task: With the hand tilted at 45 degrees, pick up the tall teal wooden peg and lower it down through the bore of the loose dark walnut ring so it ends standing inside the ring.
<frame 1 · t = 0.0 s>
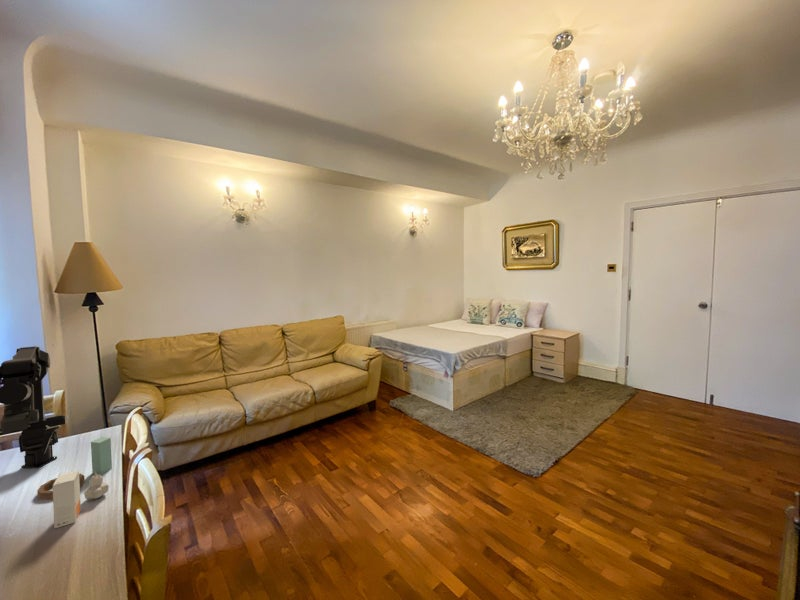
hand: (20, 459, 93), 15 cm above the table, tool pointing down, fingers open, 9 cm apart
walnut ring: (62, 488, 104), on the table
skincare box: (68, 519, 91), on the table
teal peg: (102, 470, 114), on the table
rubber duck: (97, 498, 100), on the table
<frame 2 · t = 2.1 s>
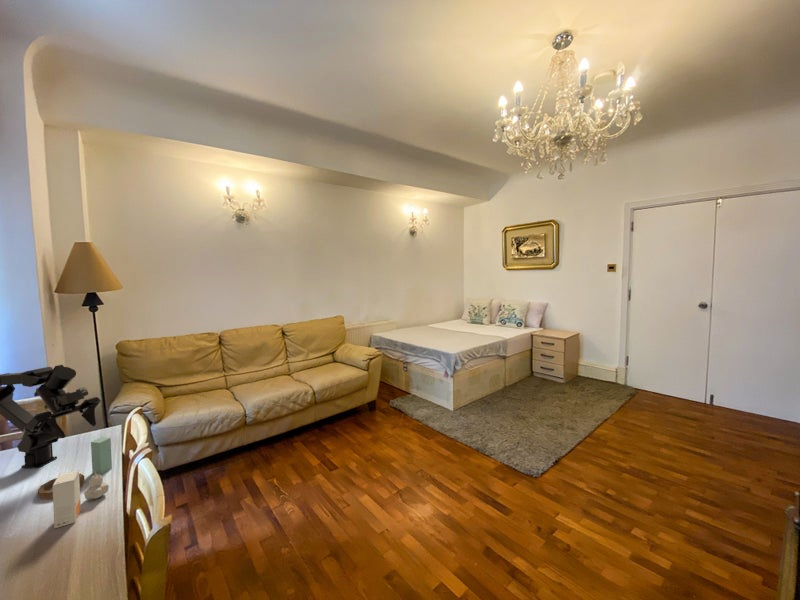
hand: (80, 431, 114), 14 cm above the table, tool tilted 45°, fingers open, 9 cm apart
nothing on the table moved.
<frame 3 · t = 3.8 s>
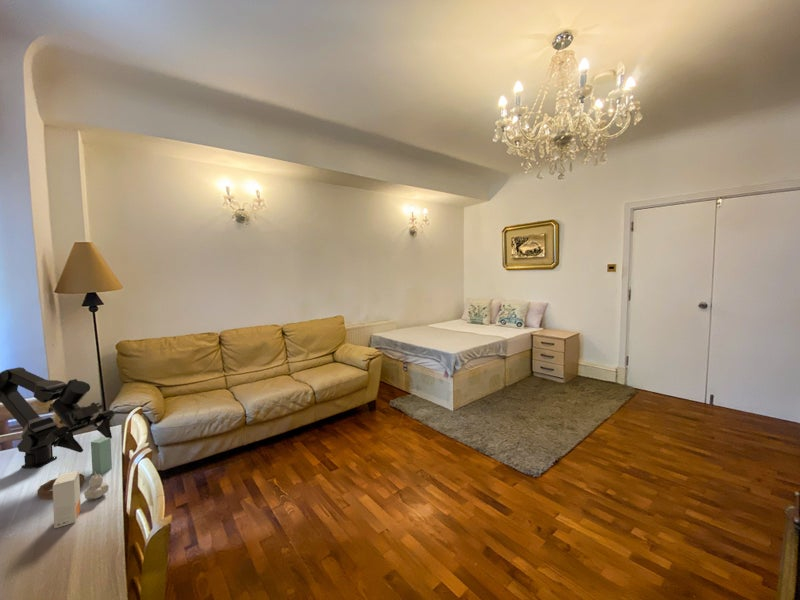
hand: (97, 444, 114), 9 cm above the table, tool tilted 45°, fingers open, 9 cm apart
nothing on the table moved.
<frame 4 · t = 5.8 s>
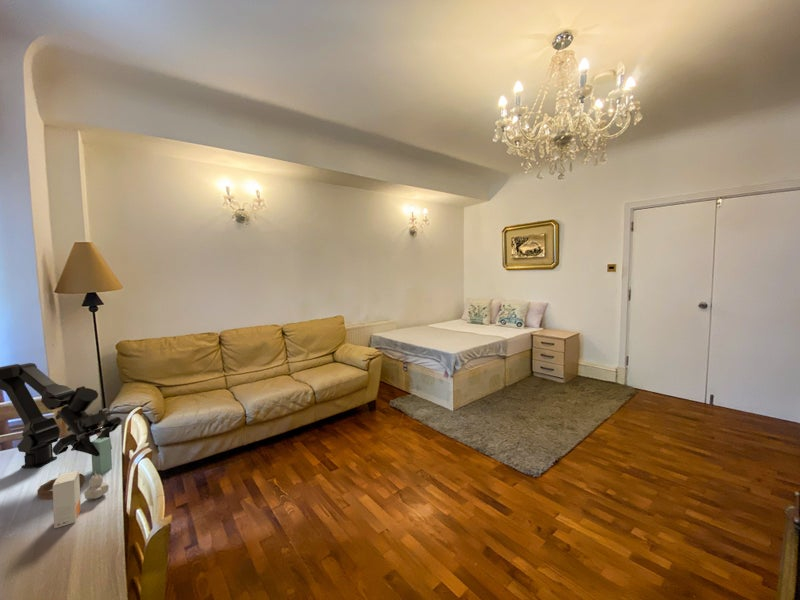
hand: (104, 452, 113), 7 cm above the table, tool tilted 45°, fingers closed on teal peg, 4 cm apart
teal peg: (102, 470, 114), on the table, touching gripper
everything else where it was.
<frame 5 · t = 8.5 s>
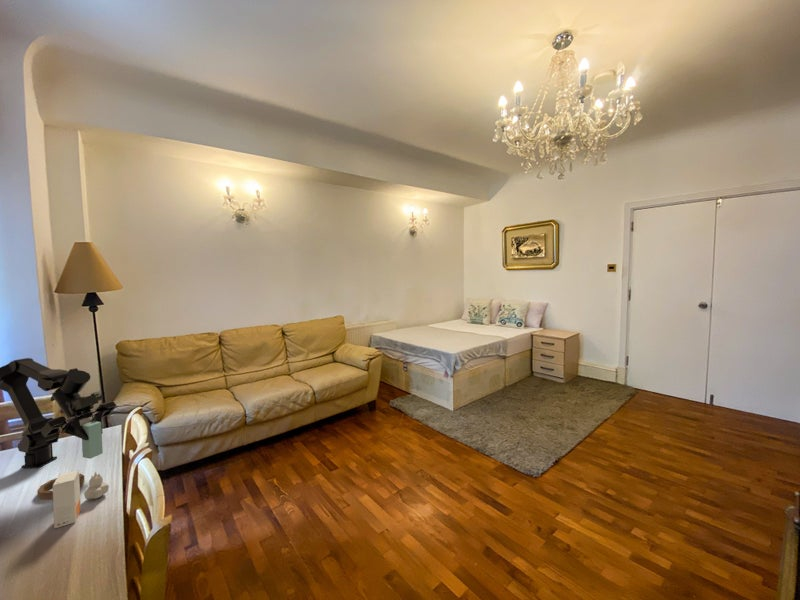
hand: (94, 436, 110), 14 cm above the table, tool tilted 45°, fingers closed on teal peg, 4 cm apart
teal peg: (92, 455, 111), point 7 cm above the table, touching gripper
everything else where it was.
when the fingers open (8 cm above the table, at t = 11.3 s): teal peg drops 1 cm, resting in walnut ring.
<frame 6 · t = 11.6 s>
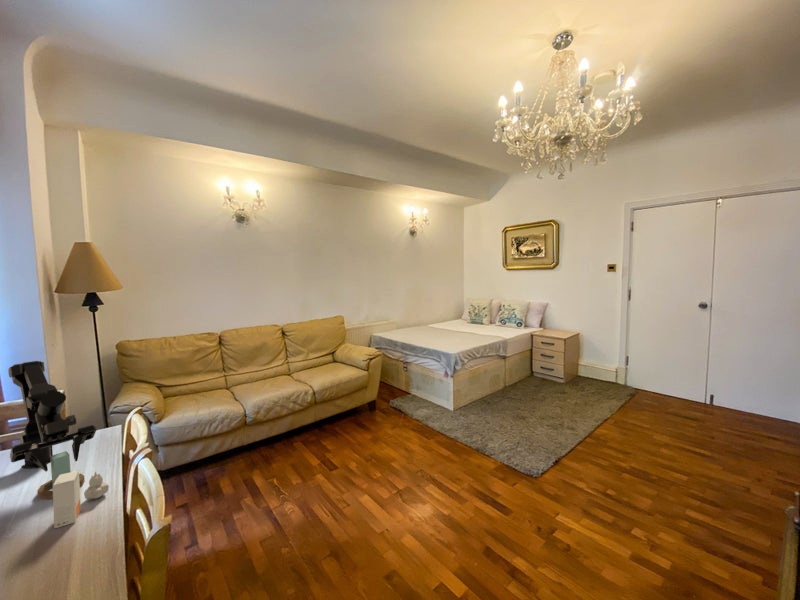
hand: (62, 465, 103), 8 cm above the table, tool tilted 45°, fingers open, 6 cm apart
teal peg: (62, 488, 104), resting in walnut ring
everything else where it was.
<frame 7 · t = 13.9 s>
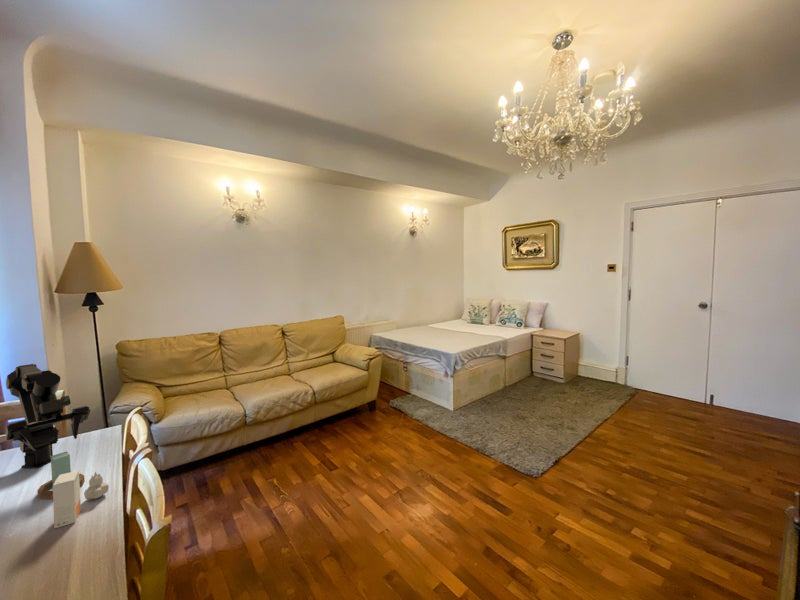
hand: (56, 444, 105), 14 cm above the table, tool tilted 45°, fingers open, 9 cm apart
nothing on the table moved.
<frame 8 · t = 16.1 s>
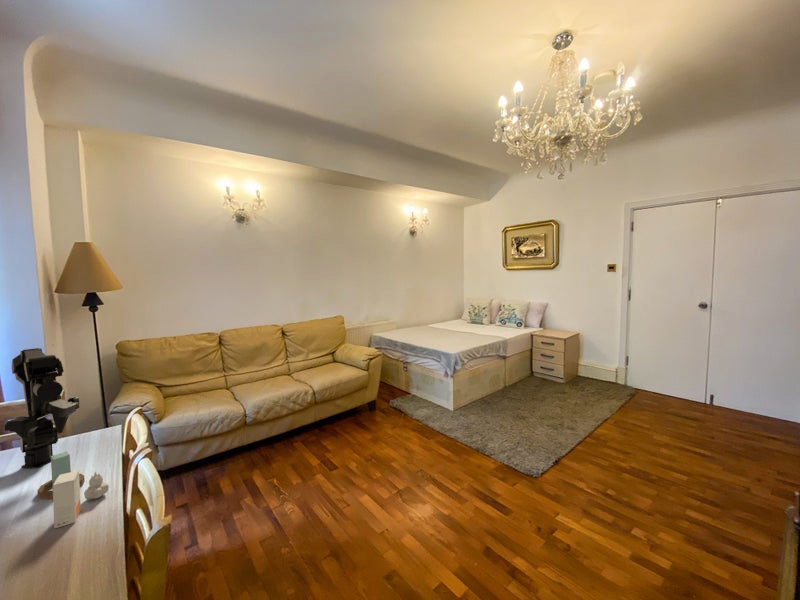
hand: (46, 439, 110), 13 cm above the table, tool pointing down, fingers open, 9 cm apart
nothing on the table moved.
at the end: teal peg 0.1 cm off-centre on the walnut ring, point 0.0 cm above the walnut ring's base; teal peg tilted 0°; the gripper is holding nothing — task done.
